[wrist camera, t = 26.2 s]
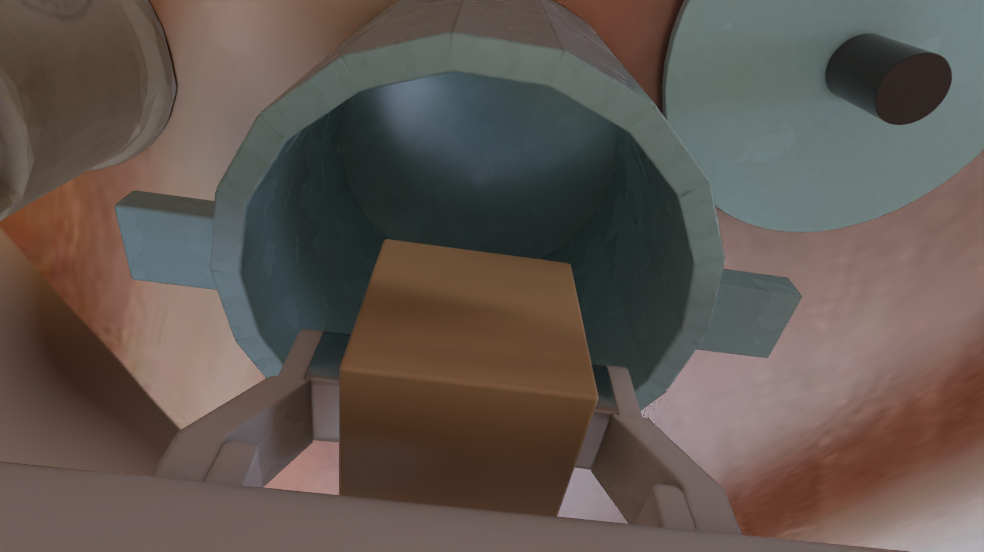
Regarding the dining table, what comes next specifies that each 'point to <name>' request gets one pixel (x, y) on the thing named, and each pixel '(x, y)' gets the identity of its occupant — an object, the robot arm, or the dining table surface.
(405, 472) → the block
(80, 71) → the lamp
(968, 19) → the pot lid
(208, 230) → the pot
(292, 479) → the dining table surface
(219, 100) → the dining table surface
